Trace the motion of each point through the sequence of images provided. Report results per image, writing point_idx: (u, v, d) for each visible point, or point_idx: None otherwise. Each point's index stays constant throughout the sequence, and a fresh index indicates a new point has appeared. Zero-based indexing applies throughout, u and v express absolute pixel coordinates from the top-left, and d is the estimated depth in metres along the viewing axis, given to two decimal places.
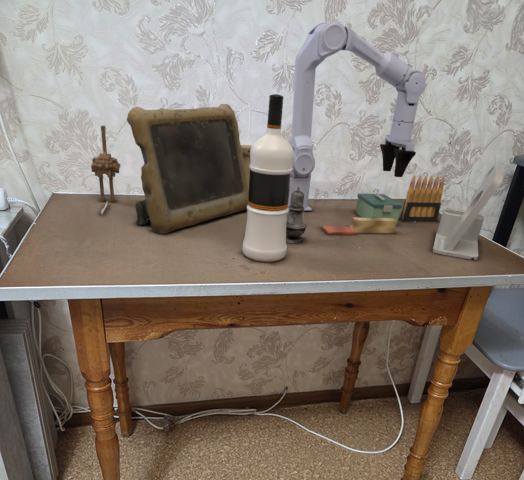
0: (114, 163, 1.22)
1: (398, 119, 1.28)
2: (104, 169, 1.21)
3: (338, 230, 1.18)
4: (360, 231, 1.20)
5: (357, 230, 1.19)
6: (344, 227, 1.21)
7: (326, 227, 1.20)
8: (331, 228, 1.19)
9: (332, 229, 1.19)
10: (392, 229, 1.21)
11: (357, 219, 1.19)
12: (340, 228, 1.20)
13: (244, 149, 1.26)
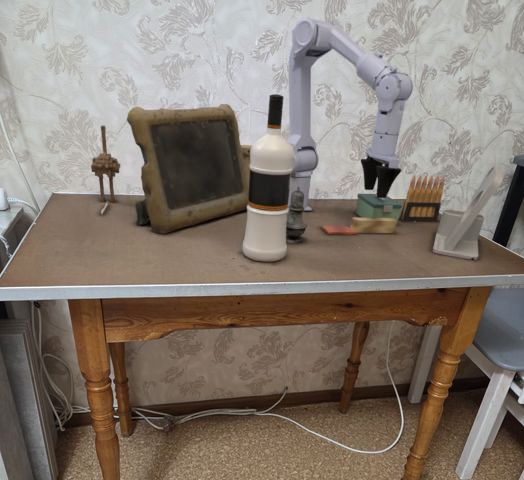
0: (114, 163, 1.22)
1: (374, 129, 1.11)
2: (104, 169, 1.21)
3: (338, 230, 1.18)
4: (360, 231, 1.20)
5: (357, 230, 1.19)
6: (344, 227, 1.21)
7: (326, 227, 1.20)
8: (331, 228, 1.19)
9: (332, 229, 1.19)
10: (392, 229, 1.21)
11: (357, 219, 1.19)
12: (340, 228, 1.20)
13: (244, 149, 1.26)
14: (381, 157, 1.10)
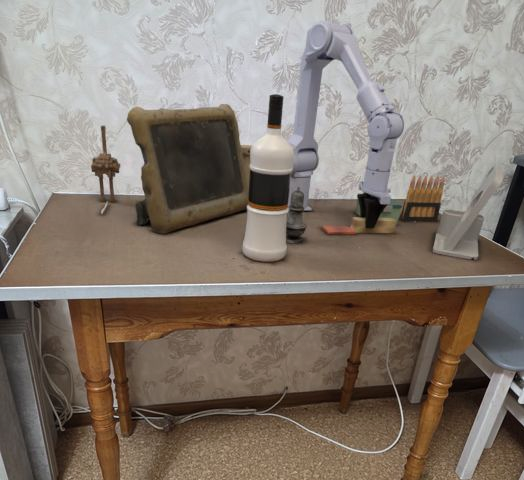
0: (114, 163, 1.22)
1: (366, 165, 1.14)
2: (104, 169, 1.21)
3: (338, 230, 1.18)
4: (360, 231, 1.20)
5: (357, 230, 1.19)
6: (344, 227, 1.21)
7: (326, 227, 1.20)
8: (331, 228, 1.19)
9: (332, 229, 1.19)
10: (392, 229, 1.21)
11: (357, 219, 1.19)
12: (340, 227, 1.20)
13: (244, 149, 1.26)
14: (373, 193, 1.13)
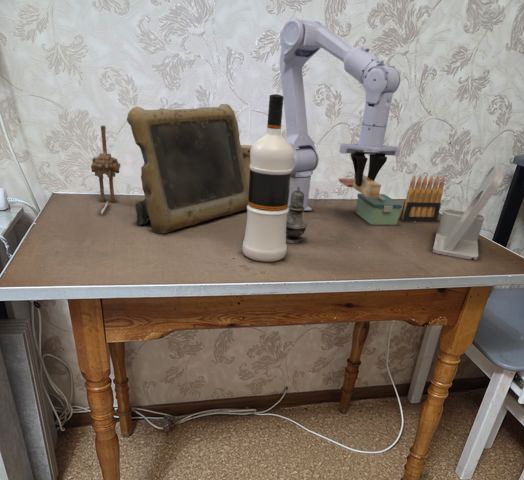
0: (114, 163, 1.22)
1: (362, 121, 1.12)
2: (104, 169, 1.21)
3: (347, 181, 1.26)
4: (355, 187, 1.21)
5: (354, 186, 1.22)
6: None
7: (352, 179, 1.28)
8: (350, 180, 1.27)
9: (347, 180, 1.27)
10: (368, 193, 1.14)
11: None
12: None
13: (244, 149, 1.26)
14: None
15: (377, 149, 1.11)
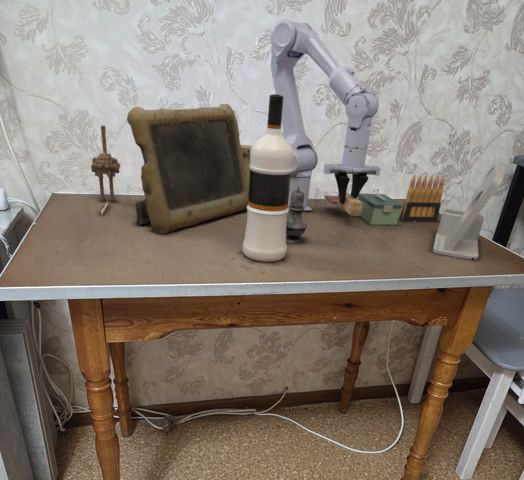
0: (114, 163, 1.22)
1: None
2: (104, 169, 1.21)
3: (332, 198, 1.33)
4: (339, 204, 1.28)
5: (338, 203, 1.29)
6: None
7: (337, 196, 1.36)
8: (335, 197, 1.34)
9: (333, 196, 1.34)
10: (351, 211, 1.21)
11: None
12: None
13: (244, 149, 1.26)
14: None
15: (358, 170, 1.18)
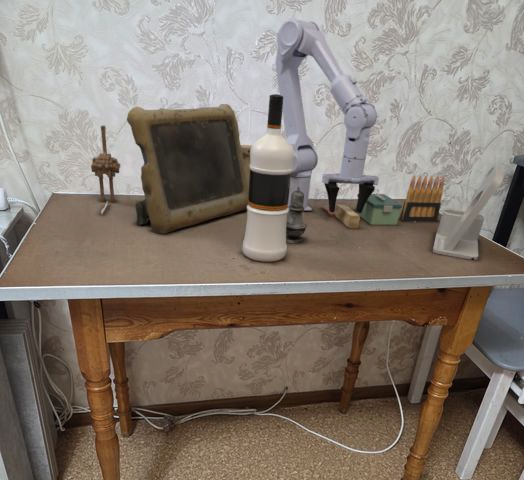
0: (114, 163, 1.22)
1: (343, 154, 1.20)
2: (104, 169, 1.21)
3: None
4: (337, 216, 1.30)
5: (336, 215, 1.31)
6: None
7: (335, 207, 1.37)
8: None
9: None
10: (349, 223, 1.23)
11: (340, 205, 1.30)
12: None
13: (244, 149, 1.26)
14: None
15: (357, 180, 1.20)
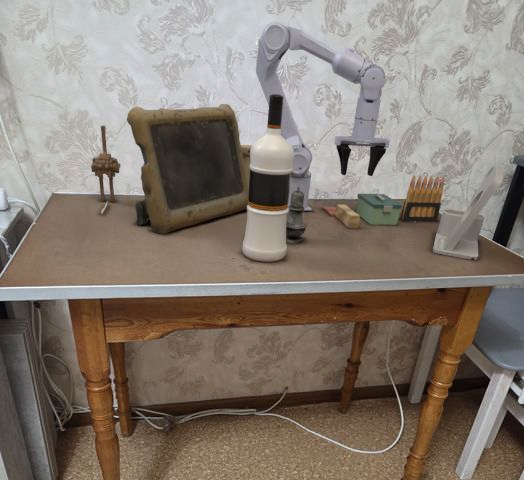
0: (114, 163, 1.22)
1: (357, 116, 1.21)
2: (104, 169, 1.21)
3: (330, 209, 1.35)
4: (337, 216, 1.30)
5: (336, 215, 1.31)
6: None
7: (335, 207, 1.37)
8: (333, 208, 1.36)
9: (331, 208, 1.36)
10: (349, 223, 1.23)
11: (340, 205, 1.30)
12: None
13: (244, 149, 1.26)
14: None
15: (368, 141, 1.22)
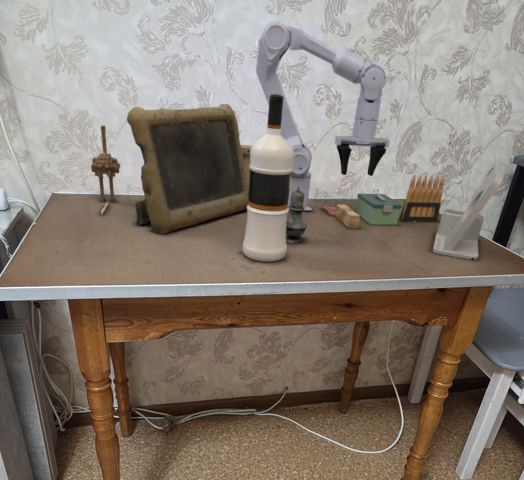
0: (114, 163, 1.22)
1: (357, 116, 1.22)
2: (104, 169, 1.21)
3: (330, 209, 1.35)
4: (337, 216, 1.30)
5: (336, 215, 1.31)
6: None
7: (335, 207, 1.37)
8: (333, 208, 1.36)
9: (331, 208, 1.36)
10: (349, 223, 1.23)
11: (340, 205, 1.30)
12: None
13: (244, 149, 1.26)
14: None
15: (369, 141, 1.22)
